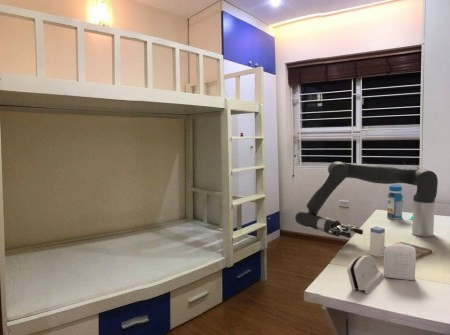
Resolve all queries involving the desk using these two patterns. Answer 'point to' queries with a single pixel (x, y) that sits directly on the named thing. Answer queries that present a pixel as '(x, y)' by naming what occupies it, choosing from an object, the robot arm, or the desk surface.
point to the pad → (417, 250)
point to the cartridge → (377, 241)
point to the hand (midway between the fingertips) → (356, 233)
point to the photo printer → (399, 261)
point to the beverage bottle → (395, 202)
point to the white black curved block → (364, 274)
